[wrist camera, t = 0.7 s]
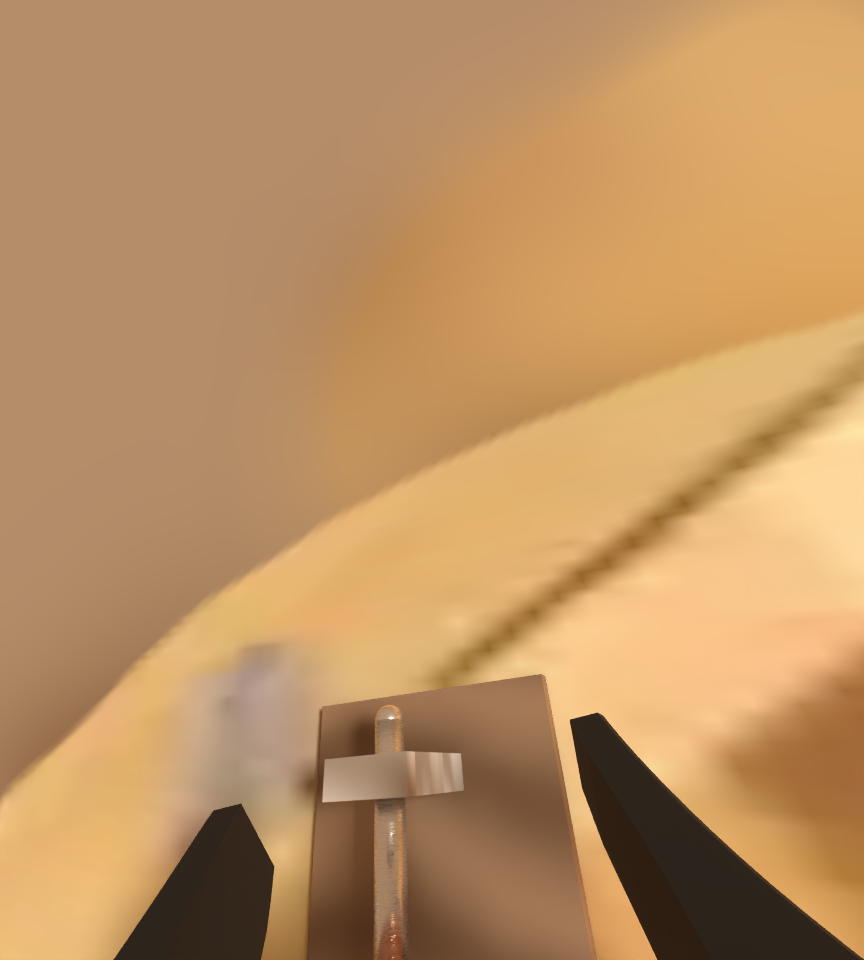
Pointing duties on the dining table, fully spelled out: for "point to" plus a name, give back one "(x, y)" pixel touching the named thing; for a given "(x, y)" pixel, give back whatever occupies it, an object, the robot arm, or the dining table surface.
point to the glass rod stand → (390, 851)
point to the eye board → (451, 828)
